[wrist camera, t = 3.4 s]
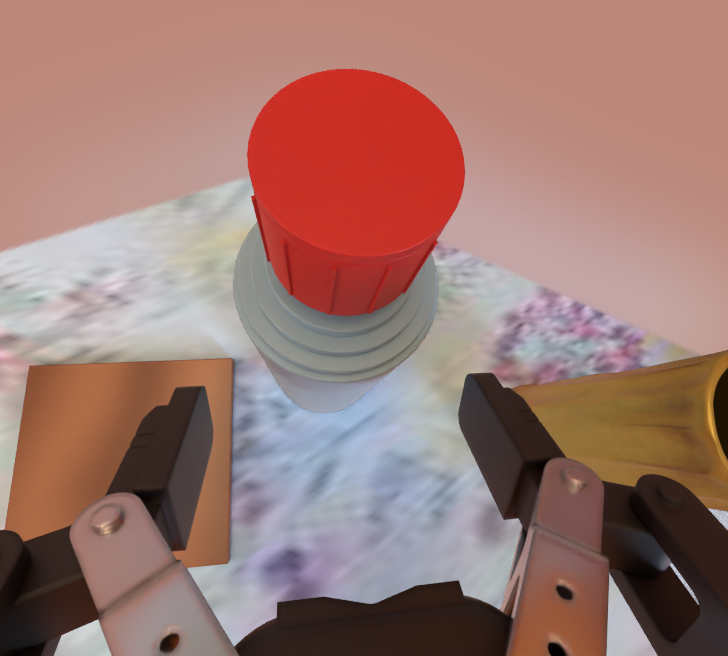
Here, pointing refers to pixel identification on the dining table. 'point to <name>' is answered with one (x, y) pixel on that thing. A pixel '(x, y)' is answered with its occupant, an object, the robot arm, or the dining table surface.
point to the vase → (645, 423)
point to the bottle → (327, 333)
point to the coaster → (114, 444)
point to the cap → (352, 187)
